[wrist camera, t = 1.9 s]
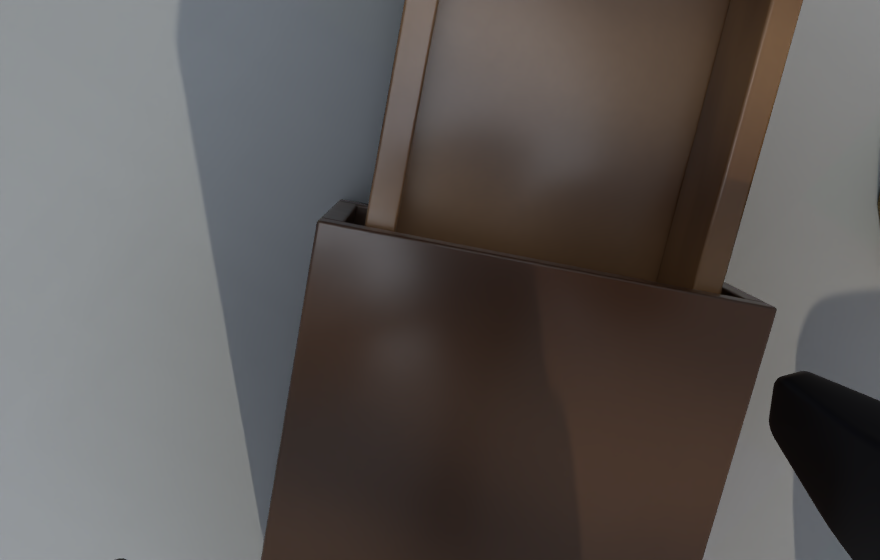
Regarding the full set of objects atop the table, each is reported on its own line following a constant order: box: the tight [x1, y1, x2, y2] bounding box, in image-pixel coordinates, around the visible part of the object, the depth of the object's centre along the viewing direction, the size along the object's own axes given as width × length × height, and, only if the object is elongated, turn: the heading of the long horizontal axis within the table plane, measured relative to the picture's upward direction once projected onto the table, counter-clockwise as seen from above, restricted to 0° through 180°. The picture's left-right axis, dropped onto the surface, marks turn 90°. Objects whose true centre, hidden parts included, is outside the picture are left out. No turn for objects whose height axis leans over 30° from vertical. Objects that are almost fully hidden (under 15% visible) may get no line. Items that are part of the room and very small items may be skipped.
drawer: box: [365, 0, 803, 294], centre depth 19 cm, size 17×10×4 cm, turn 169°
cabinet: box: [261, 199, 776, 560], centre depth 22 cm, size 14×12×5 cm
